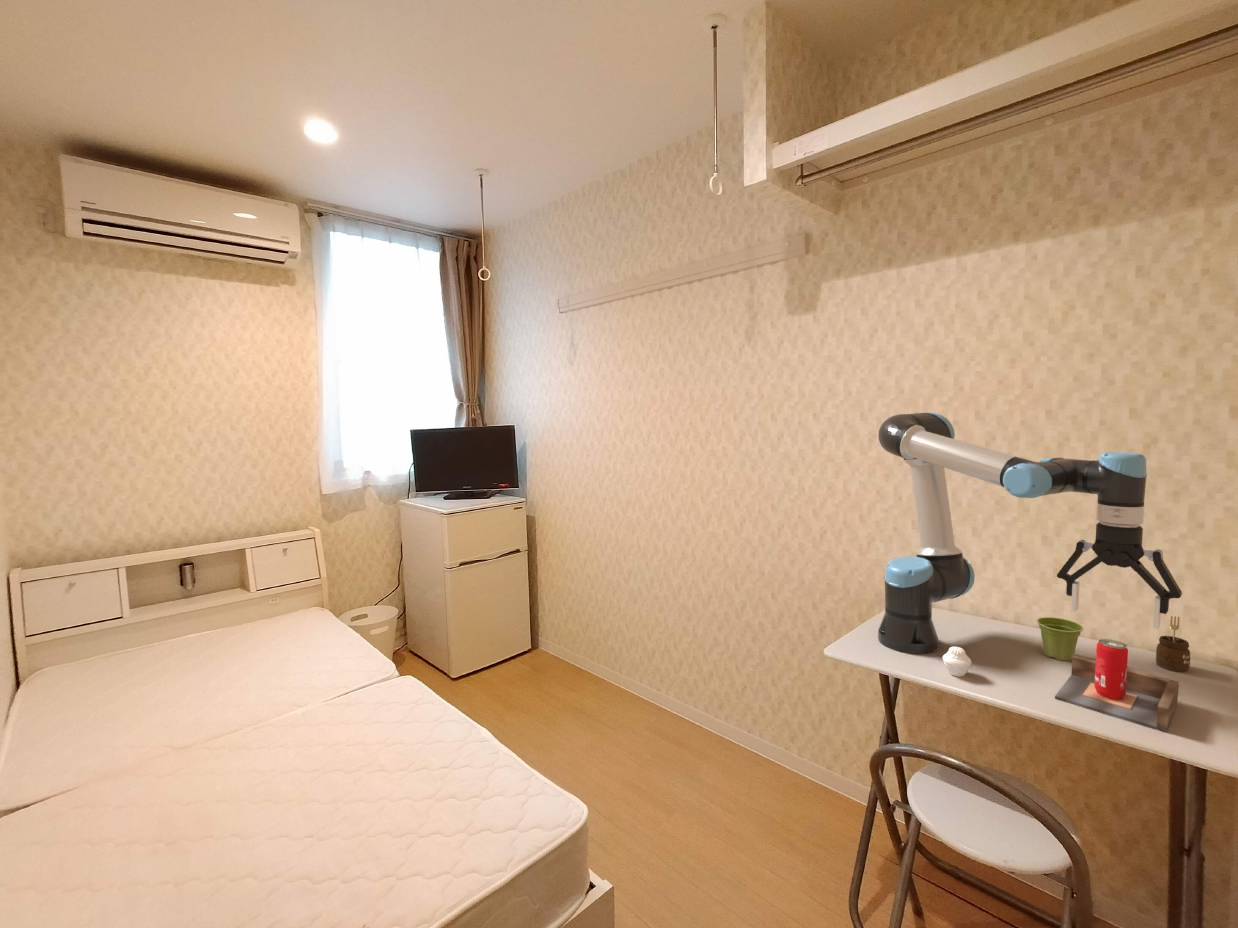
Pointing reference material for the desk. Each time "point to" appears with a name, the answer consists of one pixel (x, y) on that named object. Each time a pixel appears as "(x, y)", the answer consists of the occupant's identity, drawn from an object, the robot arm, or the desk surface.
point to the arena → (1141, 704)
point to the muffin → (956, 661)
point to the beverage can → (1111, 669)
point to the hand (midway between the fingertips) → (1113, 618)
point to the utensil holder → (1173, 651)
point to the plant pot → (1059, 637)
